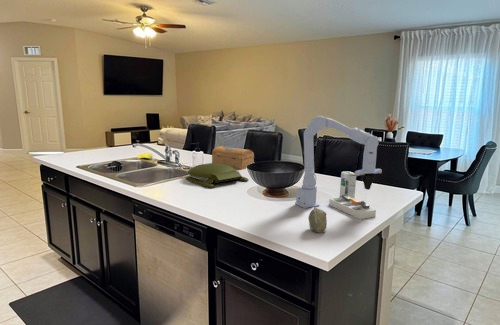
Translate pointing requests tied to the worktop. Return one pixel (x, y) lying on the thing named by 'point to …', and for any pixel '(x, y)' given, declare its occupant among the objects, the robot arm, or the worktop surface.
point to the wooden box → (232, 157)
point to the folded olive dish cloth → (213, 174)
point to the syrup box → (348, 184)
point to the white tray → (352, 208)
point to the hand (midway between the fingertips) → (367, 189)
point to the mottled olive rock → (317, 220)
